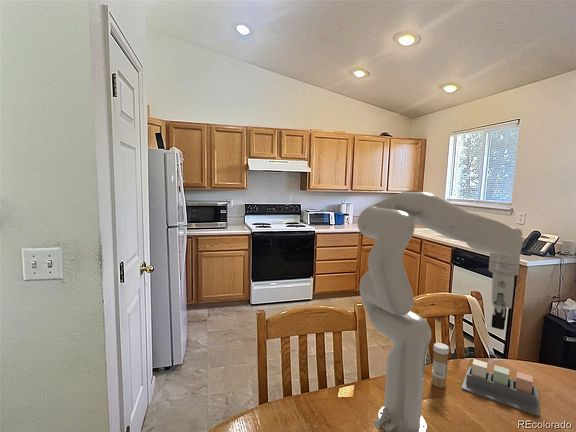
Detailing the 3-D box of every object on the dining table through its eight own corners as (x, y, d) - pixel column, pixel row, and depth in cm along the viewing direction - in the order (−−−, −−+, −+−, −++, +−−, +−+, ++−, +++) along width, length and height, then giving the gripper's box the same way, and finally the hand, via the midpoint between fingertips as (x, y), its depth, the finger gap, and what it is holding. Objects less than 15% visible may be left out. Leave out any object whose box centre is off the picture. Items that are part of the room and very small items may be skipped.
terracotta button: (531, 396, 97) (532, 382, 97) (515, 391, 99) (516, 377, 99) (531, 389, 100) (532, 376, 100) (515, 384, 103) (516, 371, 102)
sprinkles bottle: (448, 384, 106) (451, 345, 105) (443, 390, 103) (446, 350, 102) (434, 378, 109) (437, 340, 108) (428, 383, 106) (431, 345, 105)
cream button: (485, 381, 104) (486, 368, 104) (471, 376, 106) (472, 363, 106) (486, 375, 107) (487, 362, 107) (472, 371, 110) (473, 358, 109)
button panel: (539, 416, 92) (540, 405, 92) (461, 389, 104) (462, 378, 104) (537, 392, 103) (538, 381, 103) (467, 370, 115) (468, 360, 115)
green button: (507, 388, 101) (508, 374, 100) (492, 383, 103) (493, 370, 102) (508, 382, 104) (509, 369, 103) (493, 377, 106) (494, 364, 106)
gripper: (518, 275, 87) (512, 337, 89) (519, 264, 101) (514, 317, 103) (486, 271, 92) (481, 330, 93) (491, 260, 106) (486, 312, 107)
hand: (498, 323), depth 98 cm, fingers open, 7 cm apart
